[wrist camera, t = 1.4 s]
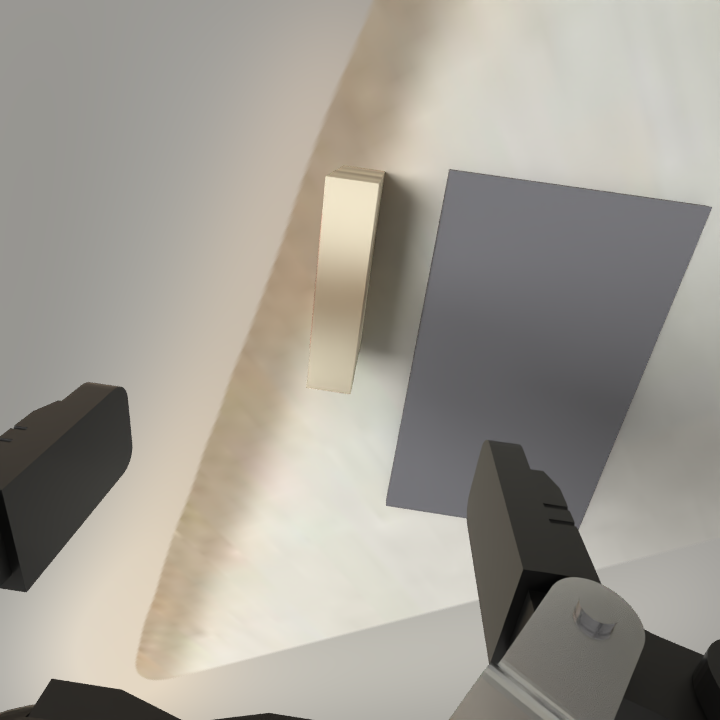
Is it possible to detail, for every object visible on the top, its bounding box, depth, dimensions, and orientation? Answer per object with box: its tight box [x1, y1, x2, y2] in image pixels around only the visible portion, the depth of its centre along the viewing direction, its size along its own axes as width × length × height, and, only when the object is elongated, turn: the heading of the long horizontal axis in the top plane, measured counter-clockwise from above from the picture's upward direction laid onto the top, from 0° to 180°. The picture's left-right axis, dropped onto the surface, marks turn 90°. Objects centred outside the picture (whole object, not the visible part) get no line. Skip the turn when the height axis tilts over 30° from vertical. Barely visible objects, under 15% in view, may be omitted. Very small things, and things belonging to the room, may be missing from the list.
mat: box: [386, 169, 712, 529], centre depth 27 cm, size 20×12×1 cm, turn 173°
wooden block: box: [306, 166, 385, 394], centre depth 23 cm, size 9×2×6 cm, turn 173°
